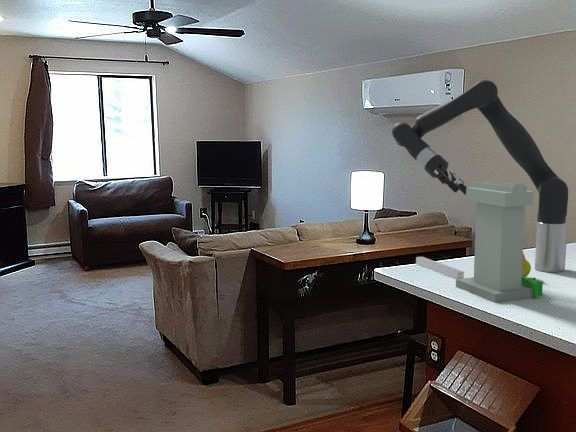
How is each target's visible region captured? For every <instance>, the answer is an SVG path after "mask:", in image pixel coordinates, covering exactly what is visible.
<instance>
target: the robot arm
mask: <svg viewBox="0 0 576 432" xmlns="http://www.w3.org/2000/svg"><path fill="white" fill-rule="evenodd" d="M498 93H499V91H498V87H497V85H496V84H495V83H494V82H493V81H491V80H488V79H482V80H479V81H477V82H475V84H474V85H473V86H470V87H469V88H468V89H467V90H466V91H464V92H462V93H461V94H459V95H458V96H456V97H454V98H453V99H451V100H449V101H447V102H445V103H443V104H440V105H439V106H438V105H437V106H436V107H434V108H433V109H430V110H428V111H426V112H424V113H422V114H420V115H419V116H417V117H416V119H415V122H414V123H413V124H412V125H410V124H408V123H407V122H403V121H399V122H397V123H395V124H393V126H392V130H391V134H392V137H393V139H394V140H395V141H396V144H397V145H398V146H400V147H404V148H405V149H406V151H407V152H408V154H409V155H410V156H411V157H412V158H413V159H414V160H415V161H416V162H417V163H418V165H419V166H420V167H421V168H422V169H423V170H424V171H425V172H426V173H427V174H428V175H429V176H430V177H431V178H432V179H437V180H439V182H440V183H441V184H442V185H445V186H447V187H448V188H449V189H450V190H451V191H453V193H458V192H459V191H460V192H462V193H463V195H464V196H466V188H468V187H467V186H466V185H465V181H464V180H463V179H462V178H460V177H459V176H458V175H457V174H456V173H455V172H454V171H451V169H450V170H449V169H448V168H449V162H448V161H447V160H446V159H445V158H444V156H442V155H441V154H440V153H439V152H438V151H436V150H435V149H434V148H433V147H431V146H430V145H429V144H428V143H427V142H426V141H424V140H423V139H422V138H423V137H424V136H425V135H426V134H428V133H430V132H433V131H434V130H437V129H438V128H440V127H442V126H444V125H445V124H447V123H449V122H450V121H452V120H453V119H455V118H457V117H459V116H460V115H463V114H464V113H467V112H469V111H471V110H474V109H477V110H478V111H479V112H480V113H481V114H482V115H483V117H484V118H485V119H486V120H487V121H488V122H489V124H490V125H491V128H492V129H493V131H494V133H495V135H496V136H497V138H498V140H499V141H500V142H501V144H502V145H503V147H504V148H505V149H506V151H507V153H508V154H509V156H511V158H512V159H513V160H514V161H515V162H516V163H517V164H518V166H519V167H521V168H522V170H523V171H525V172H526V174H527V175H528V177H529V178H530V180H531V181H532V183H533V186H534V187H535V188H536V190H537V193H538V210H537V215H536V217H537V220H536V236H535V239H536V240H535V252H534V253H535V257H534V269H535V270H537V271H540V272H547V273H559V272H560V273H561V272H563V271H565V270H566V255H567V243H566V242H565V238H566V237H565V235H566V221H567V215H568V205H569V204H568V203H569V188H568V184H567V183H566V182H565V181H564V179H563V180H562V178H560V176H558V174H556V173H555V172H554V170H553V169H552V168H551V167H550V166H549V165H548V164H547V162H546V160H545V158H544V157H543V155H542V152H541V150H540V149H539V147H538V145H537V143H536V142H535V140H534V139H533V137H532V136H531V134H530V133H529V132H528V130H527V128H525V126H523V124H522V123H521V122H520V121H519V119H517V118H516V117H514V116H513V114H511V113H510V112H509V110H508V109H507V108H506V107H505V106H504V104H503V102H502V100H501V99H500V97H499V96H498V95H499V94H498Z"/></svg>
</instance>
